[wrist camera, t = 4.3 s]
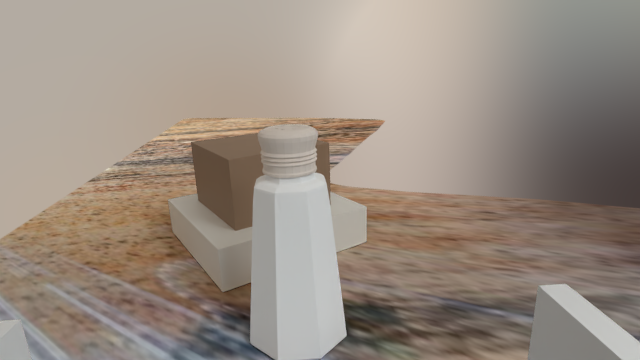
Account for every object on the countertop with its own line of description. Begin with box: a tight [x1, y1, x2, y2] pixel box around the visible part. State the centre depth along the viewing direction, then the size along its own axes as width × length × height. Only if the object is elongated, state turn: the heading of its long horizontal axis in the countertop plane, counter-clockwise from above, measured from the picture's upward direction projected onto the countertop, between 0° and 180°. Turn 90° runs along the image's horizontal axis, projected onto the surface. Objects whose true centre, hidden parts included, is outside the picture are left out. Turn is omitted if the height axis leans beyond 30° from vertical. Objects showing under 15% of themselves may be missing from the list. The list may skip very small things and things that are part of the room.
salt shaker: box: [250, 124, 347, 360], centre depth 20 cm, size 5×5×11 cm
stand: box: [168, 133, 367, 292], centre depth 32 cm, size 12×12×8 cm
